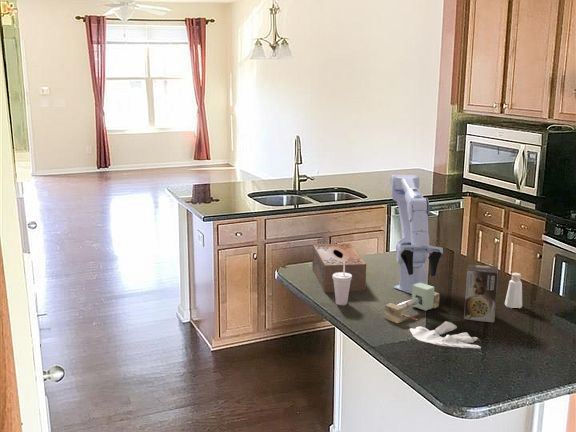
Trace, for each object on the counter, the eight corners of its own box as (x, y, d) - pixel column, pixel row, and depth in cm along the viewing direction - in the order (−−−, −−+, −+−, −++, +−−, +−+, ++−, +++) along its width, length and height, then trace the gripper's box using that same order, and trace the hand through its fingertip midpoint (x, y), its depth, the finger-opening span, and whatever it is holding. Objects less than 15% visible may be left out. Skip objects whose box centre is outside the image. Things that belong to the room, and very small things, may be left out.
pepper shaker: (522, 304, 199) (526, 272, 197) (521, 310, 195) (524, 277, 192) (505, 301, 202) (508, 270, 199) (503, 307, 197) (506, 275, 194)
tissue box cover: (312, 269, 234) (312, 244, 232) (349, 268, 236) (349, 243, 234) (324, 293, 210) (324, 265, 207) (365, 291, 211) (366, 264, 209)
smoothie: (350, 307, 196) (351, 266, 193) (330, 305, 197) (331, 264, 194) (352, 300, 202) (353, 260, 199) (333, 298, 203) (333, 258, 200)
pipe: (429, 296, 200) (430, 290, 199) (435, 298, 198) (436, 292, 197) (388, 312, 186) (388, 305, 186) (394, 314, 184) (394, 308, 184)
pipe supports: (419, 299, 203) (420, 287, 202) (445, 308, 196) (446, 295, 195) (378, 315, 189) (378, 302, 188) (404, 325, 182) (404, 312, 181)
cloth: (398, 330, 181) (399, 322, 180) (457, 318, 189) (458, 311, 189) (442, 359, 163) (442, 351, 162) (505, 345, 171) (506, 337, 171)
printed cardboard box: (494, 315, 190) (499, 266, 187) (494, 323, 184) (498, 272, 181) (464, 311, 193) (468, 263, 189) (463, 319, 187) (466, 269, 184)
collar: (418, 302, 199) (419, 282, 197) (433, 307, 195) (434, 286, 193) (411, 305, 196) (412, 285, 195) (425, 310, 192) (426, 289, 191)
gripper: (403, 229, 192) (405, 271, 188) (445, 231, 195) (449, 273, 191) (395, 234, 199) (397, 275, 195) (436, 237, 202) (439, 277, 198)
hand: (422, 275), depth 193 cm, fingers open, 7 cm apart
